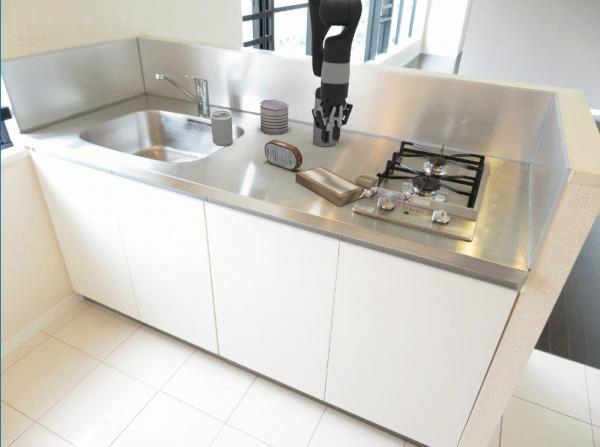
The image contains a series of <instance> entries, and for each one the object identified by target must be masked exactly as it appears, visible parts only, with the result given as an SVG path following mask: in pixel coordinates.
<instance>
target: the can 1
mask: <svg viewBox="0 0 600 447" xmlns="http://www.w3.org/2000/svg"><path fill="white" fill-rule="evenodd" d="M210 123H211V135H212V143H213V144H215V146H218V147H227V146H229V145H232V143H233V142H234V139H233V138H234V137H233V135H234V134H233V118H232V115H231V114H230V111H228V110H222V109H221V110H220V109H219V110H215V111H213V112H212V115H211V116H210Z"/></svg>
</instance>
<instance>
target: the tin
mask: <svg viewBox="0 0 600 447" xmlns="http://www.w3.org/2000/svg"><path fill="white" fill-rule="evenodd" d="M264 154H265V158H266V159H267V160H268V162H269V163H270V164H272V165H274V166H277V167H279V168H282V169H285V170H288V171H295V170H297V169H299V168H300V167H301V166H302V165H303V156H302V153H301V150H300V149H299V148H298V147H297V146H295V145H293V144H290V143H287V142H284V141H281V140H278V139H272V140H270V141H268V142H267V143H265V145H264Z"/></svg>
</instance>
